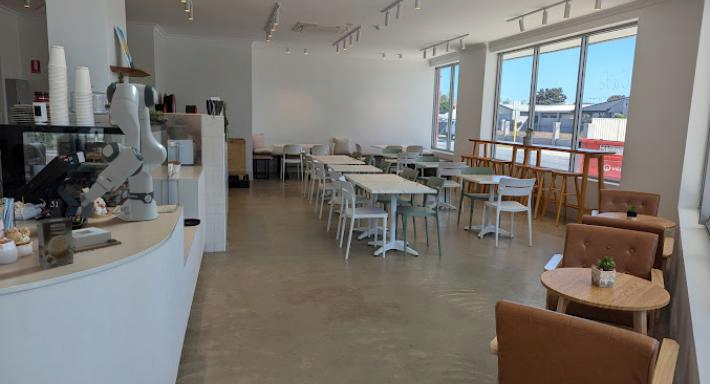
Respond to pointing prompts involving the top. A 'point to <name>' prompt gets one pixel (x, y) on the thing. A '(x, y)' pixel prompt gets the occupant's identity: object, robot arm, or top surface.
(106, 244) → the socket board
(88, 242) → the socket housing
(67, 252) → the coffee box
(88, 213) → the plug
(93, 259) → the top surface
